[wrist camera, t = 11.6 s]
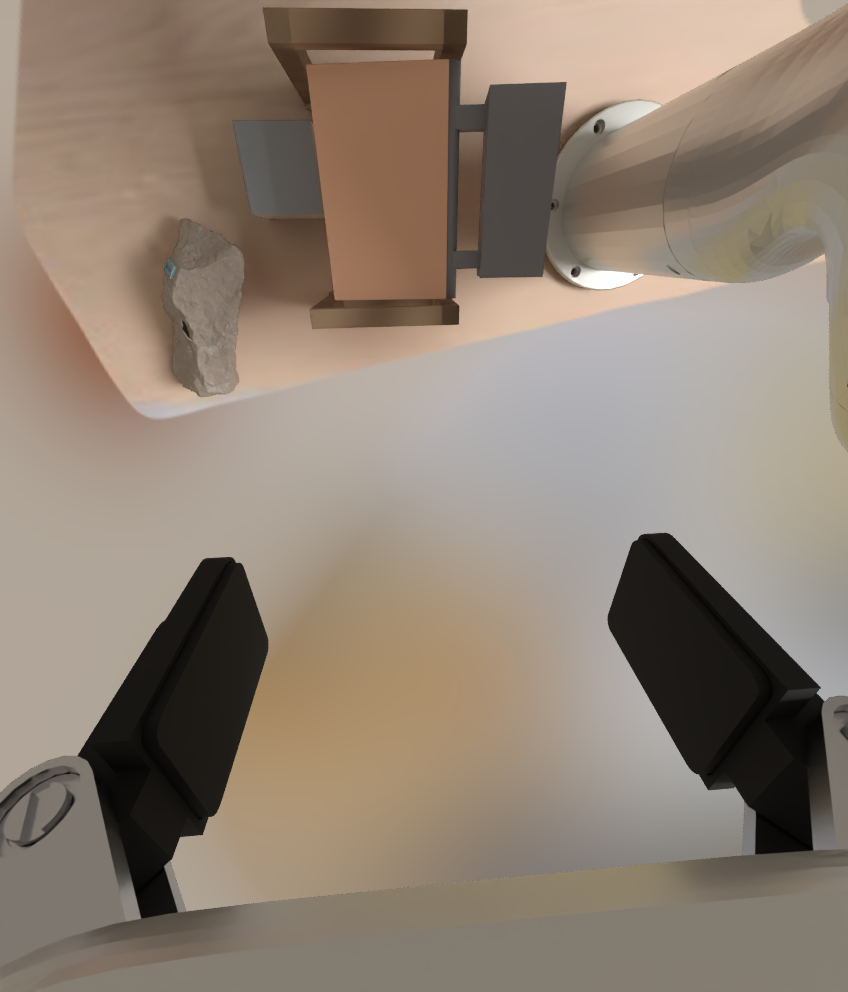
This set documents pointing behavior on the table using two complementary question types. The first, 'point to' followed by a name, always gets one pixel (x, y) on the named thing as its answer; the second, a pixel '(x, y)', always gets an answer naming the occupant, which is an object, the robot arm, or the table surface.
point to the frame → (289, 43)
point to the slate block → (280, 168)
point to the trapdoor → (428, 175)
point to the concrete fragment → (204, 308)
